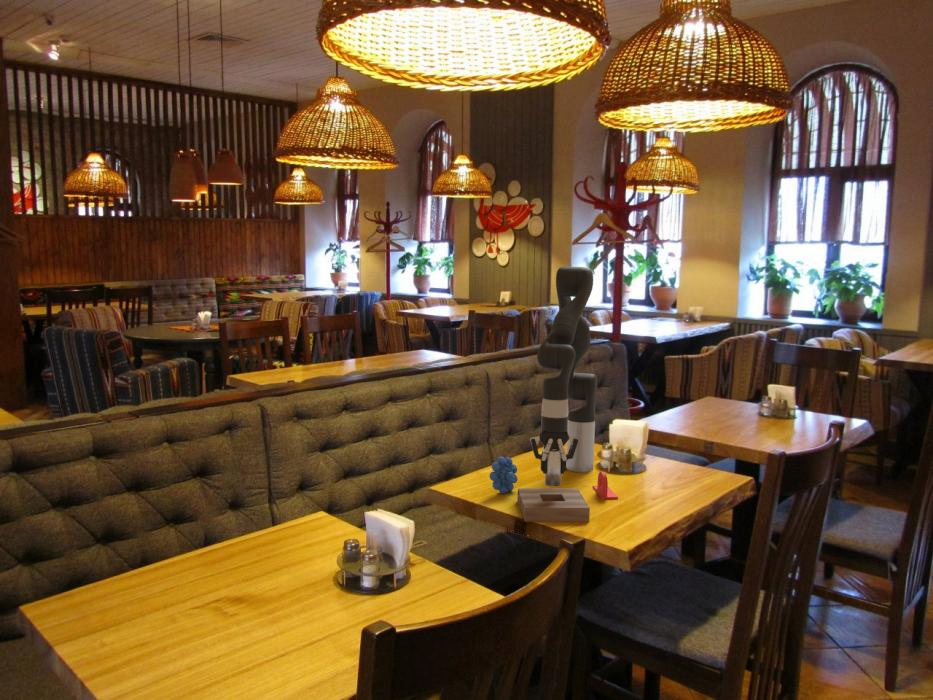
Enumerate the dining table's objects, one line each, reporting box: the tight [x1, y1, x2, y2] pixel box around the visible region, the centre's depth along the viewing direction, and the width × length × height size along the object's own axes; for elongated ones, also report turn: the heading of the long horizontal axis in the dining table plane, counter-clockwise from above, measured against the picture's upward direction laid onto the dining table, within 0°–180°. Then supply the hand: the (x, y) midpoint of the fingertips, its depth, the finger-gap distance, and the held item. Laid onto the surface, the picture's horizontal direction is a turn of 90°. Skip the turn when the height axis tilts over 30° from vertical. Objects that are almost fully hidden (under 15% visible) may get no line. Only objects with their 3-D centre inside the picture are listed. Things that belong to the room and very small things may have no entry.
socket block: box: [517, 487, 591, 523], centre depth 222 cm, size 18×18×4 cm
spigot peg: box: [544, 449, 562, 487], centre depth 221 cm, size 4×4×10 cm
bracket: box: [592, 471, 619, 501], centre depth 239 cm, size 12×4×8 cm, turn 6°
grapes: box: [489, 456, 519, 495], centre depth 237 cm, size 12×7×12 cm, turn 133°
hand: (553, 472), depth 221 cm, fingers closed on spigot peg, 4 cm apart
